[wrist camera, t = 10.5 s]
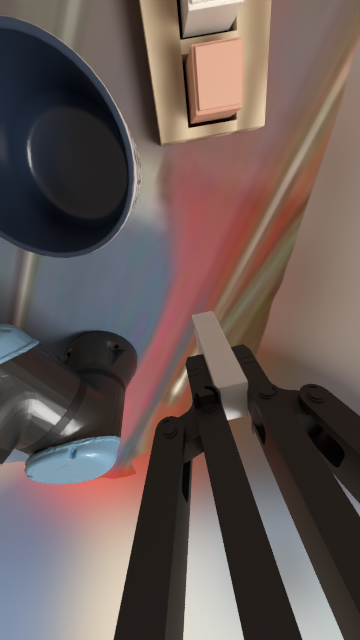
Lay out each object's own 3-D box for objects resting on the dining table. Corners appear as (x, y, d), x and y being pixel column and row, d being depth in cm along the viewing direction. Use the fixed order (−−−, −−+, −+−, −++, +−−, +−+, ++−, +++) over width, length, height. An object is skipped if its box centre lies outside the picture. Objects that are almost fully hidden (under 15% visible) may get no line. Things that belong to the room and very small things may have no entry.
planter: (163, 152, 30) (170, 136, 18) (112, 249, 36) (92, 285, 24) (41, 46, 24) (-71, -83, 12) (5, 186, 30) (-91, 192, 18)
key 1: (190, 124, 27) (197, 114, 23) (185, 65, 24) (192, 42, 20) (229, 117, 27) (243, 106, 23) (229, 57, 24) (244, 33, 20)
